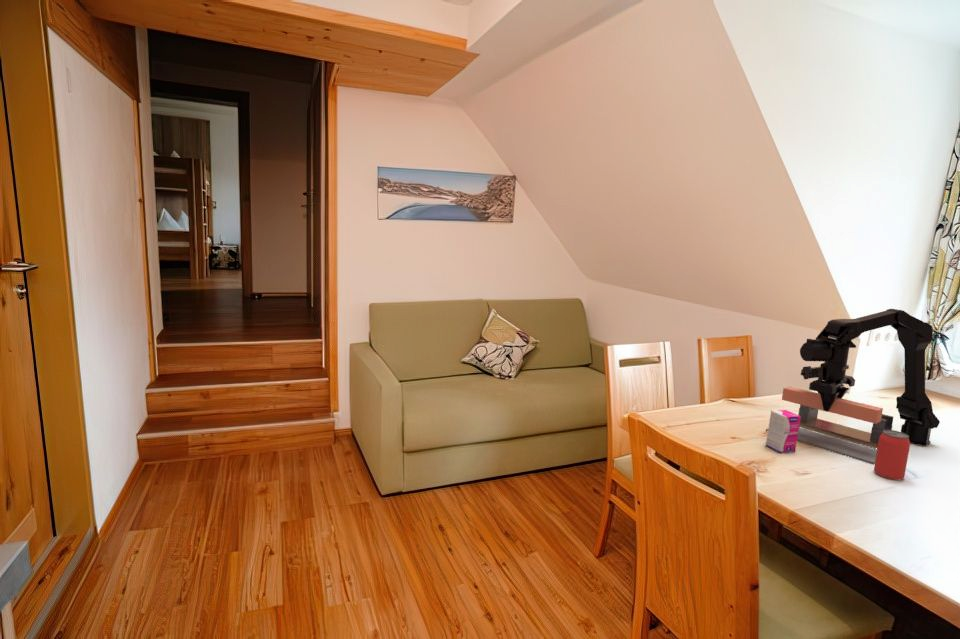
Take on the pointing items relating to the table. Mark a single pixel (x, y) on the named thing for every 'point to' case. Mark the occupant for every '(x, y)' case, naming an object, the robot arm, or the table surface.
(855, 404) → the rail
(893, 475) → the beer can
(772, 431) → the supplement box
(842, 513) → the table surface
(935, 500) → the table surface
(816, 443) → the slate mat
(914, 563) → the table surface
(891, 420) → the rail rack
